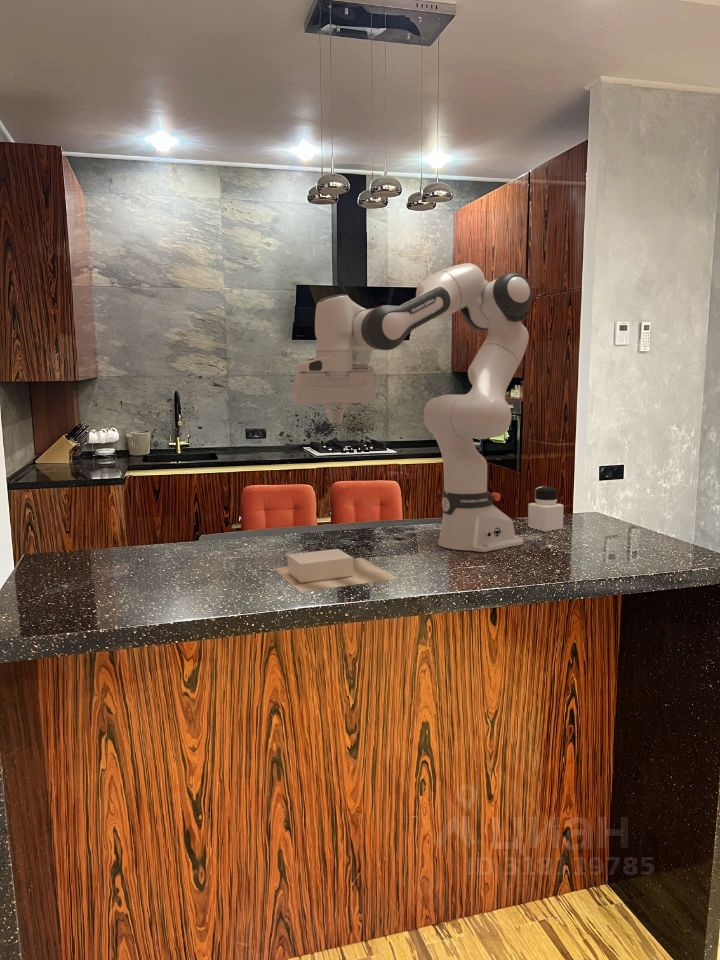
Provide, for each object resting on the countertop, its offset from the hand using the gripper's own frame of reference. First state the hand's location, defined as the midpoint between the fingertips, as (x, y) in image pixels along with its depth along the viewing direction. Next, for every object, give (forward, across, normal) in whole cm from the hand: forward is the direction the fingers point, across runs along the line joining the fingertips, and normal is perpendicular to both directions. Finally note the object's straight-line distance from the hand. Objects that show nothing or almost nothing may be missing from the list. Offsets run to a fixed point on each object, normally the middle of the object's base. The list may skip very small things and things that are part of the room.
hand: (335, 422), depth 170 cm
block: (+30, +5, +18) cm, 35 cm away
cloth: (+33, +8, +18) cm, 38 cm away
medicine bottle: (+33, -65, -3) cm, 73 cm away
